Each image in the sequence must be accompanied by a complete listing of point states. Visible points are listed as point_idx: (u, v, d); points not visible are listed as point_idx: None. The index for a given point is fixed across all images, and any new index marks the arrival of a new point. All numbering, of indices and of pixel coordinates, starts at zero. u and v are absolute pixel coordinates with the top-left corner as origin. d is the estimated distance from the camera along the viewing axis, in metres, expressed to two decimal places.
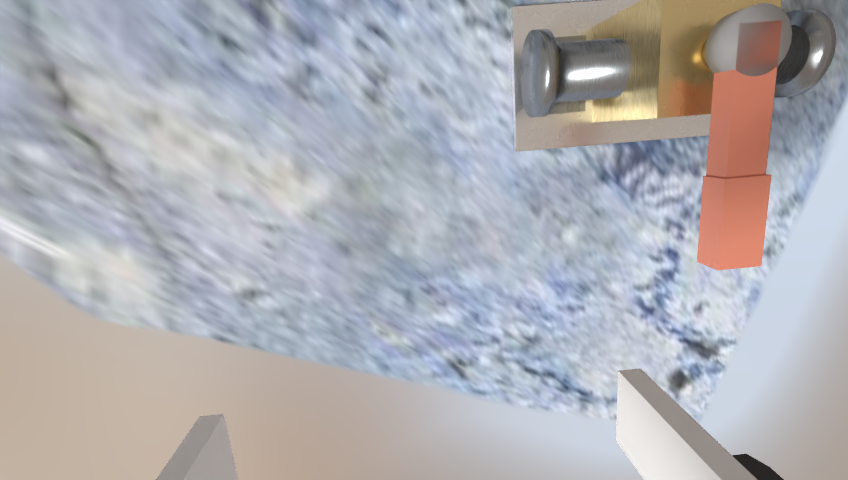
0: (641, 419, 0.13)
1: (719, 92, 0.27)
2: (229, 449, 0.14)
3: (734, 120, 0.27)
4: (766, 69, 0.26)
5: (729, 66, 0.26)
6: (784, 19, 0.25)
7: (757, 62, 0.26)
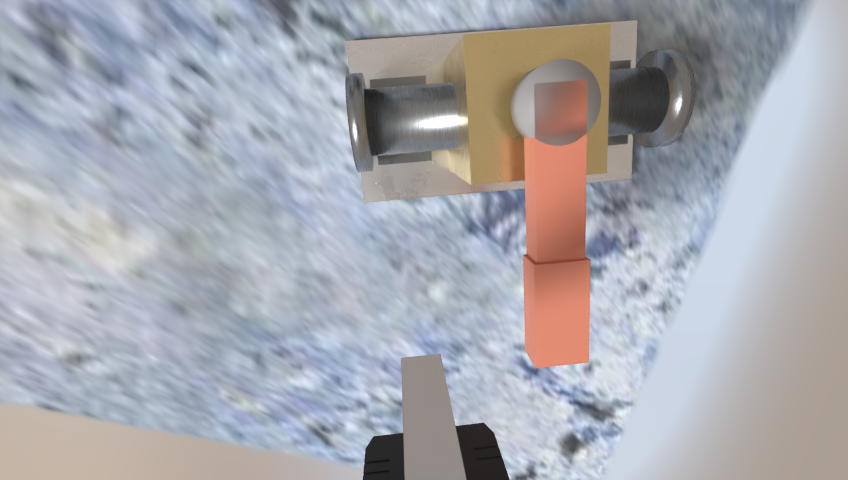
0: None
1: (528, 161, 0.23)
2: None
3: (539, 197, 0.22)
4: (573, 137, 0.21)
5: (529, 133, 0.21)
6: (590, 78, 0.21)
7: (561, 129, 0.21)
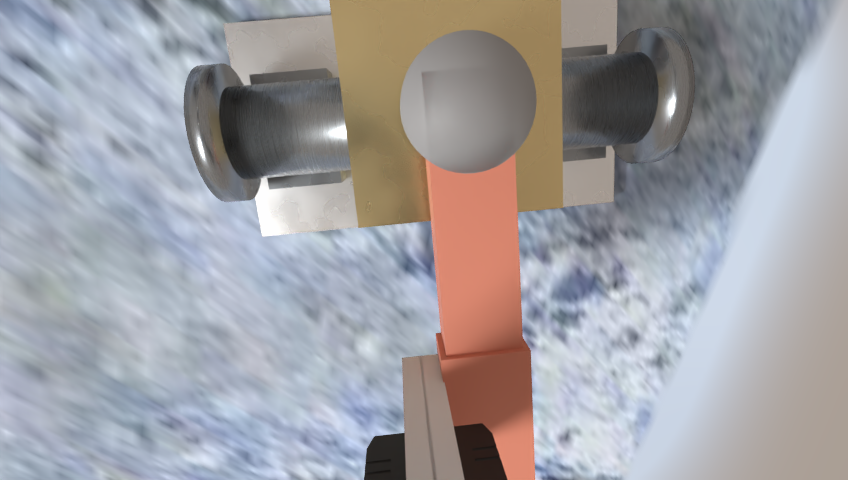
0: None
1: (429, 195, 0.14)
2: None
3: (444, 255, 0.14)
4: (493, 160, 0.13)
5: (421, 154, 0.13)
6: (515, 62, 0.12)
7: (472, 147, 0.13)
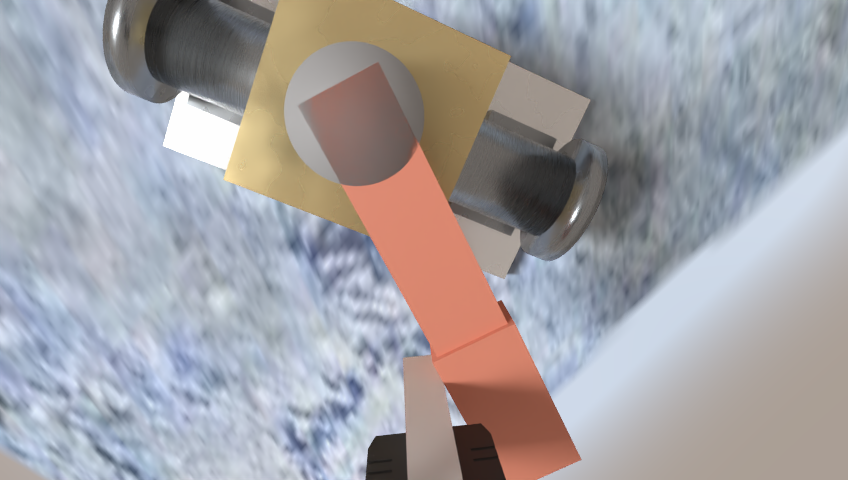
0: None
1: None
2: None
3: (393, 265, 0.14)
4: (401, 158, 0.13)
5: None
6: (381, 58, 0.12)
7: (376, 154, 0.13)
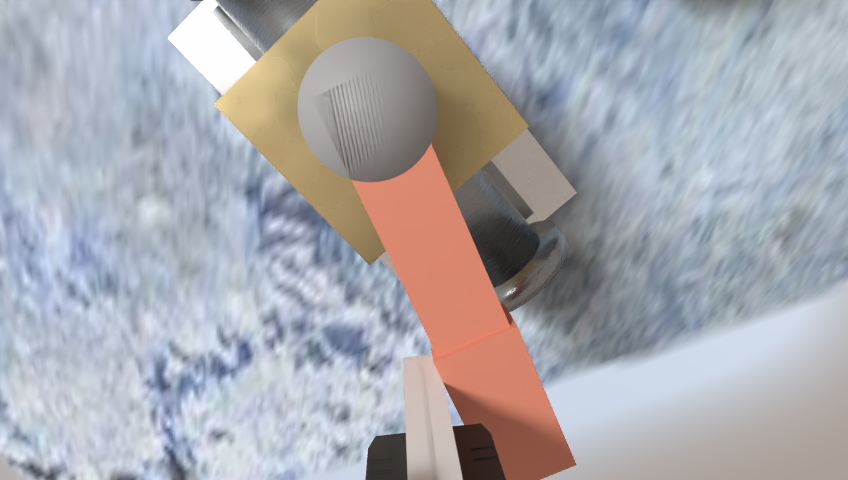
0: None
1: None
2: None
3: (399, 263, 0.14)
4: (412, 156, 0.13)
5: None
6: (398, 55, 0.12)
7: (387, 152, 0.13)
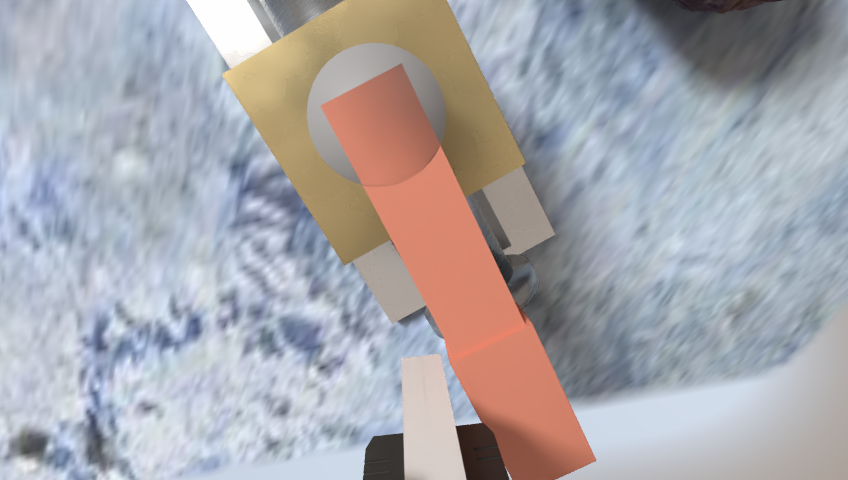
0: None
1: None
2: None
3: (413, 265, 0.14)
4: (422, 159, 0.13)
5: None
6: (405, 59, 0.12)
7: (397, 156, 0.13)
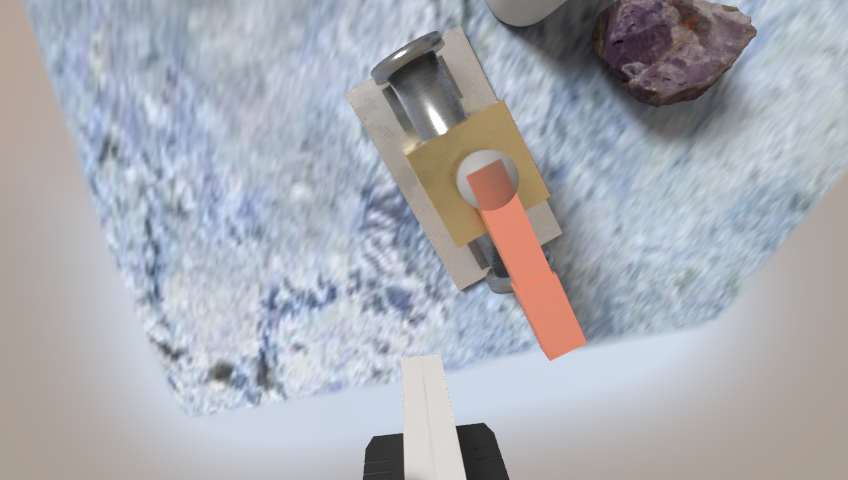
0: None
1: (485, 222, 0.31)
2: None
3: (502, 246, 0.30)
4: (508, 198, 0.29)
5: None
6: (502, 156, 0.28)
7: (497, 197, 0.29)
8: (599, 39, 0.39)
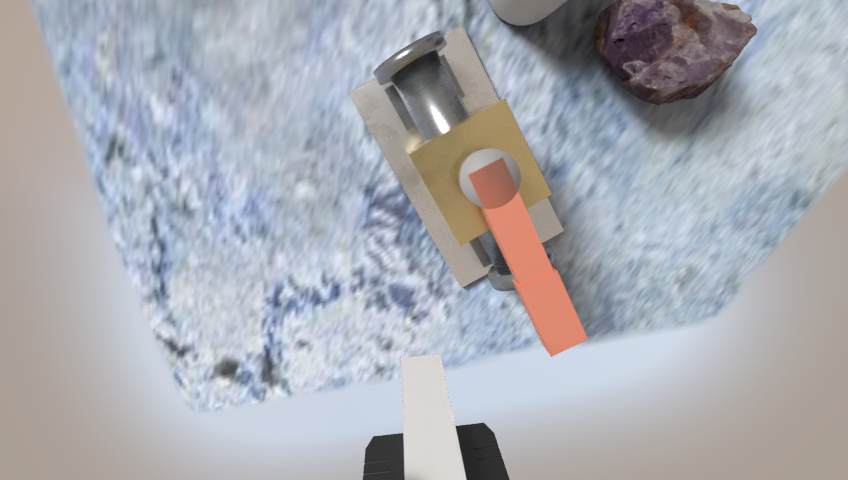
0: None
1: (487, 220, 0.31)
2: None
3: (503, 243, 0.30)
4: (509, 196, 0.30)
5: None
6: (504, 155, 0.29)
7: (499, 195, 0.29)
8: (600, 37, 0.39)
